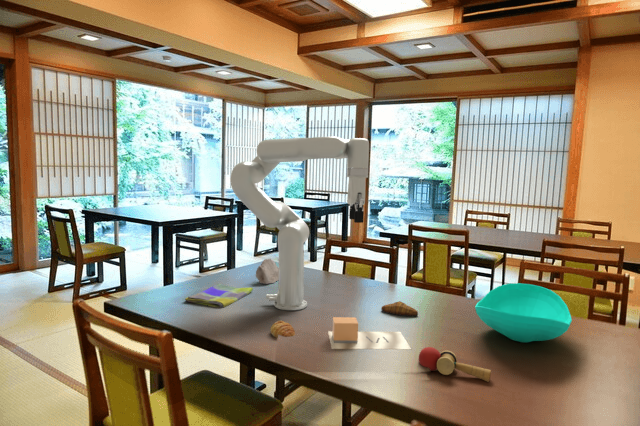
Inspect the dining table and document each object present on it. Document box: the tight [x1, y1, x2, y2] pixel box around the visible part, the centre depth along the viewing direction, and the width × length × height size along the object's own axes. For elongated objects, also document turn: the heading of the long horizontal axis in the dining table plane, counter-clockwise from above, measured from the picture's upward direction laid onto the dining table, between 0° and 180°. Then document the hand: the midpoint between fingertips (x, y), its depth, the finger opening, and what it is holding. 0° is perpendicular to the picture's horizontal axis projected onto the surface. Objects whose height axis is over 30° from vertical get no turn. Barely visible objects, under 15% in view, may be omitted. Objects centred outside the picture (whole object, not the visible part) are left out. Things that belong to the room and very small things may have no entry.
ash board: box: [327, 330, 412, 350], centre depth 130 cm, size 23×13×2 cm, turn 93°
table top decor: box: [474, 282, 573, 343], centre depth 138 cm, size 40×28×13 cm
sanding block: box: [332, 316, 359, 343], centre depth 129 cm, size 7×5×6 cm
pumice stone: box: [255, 258, 279, 285], centre depth 198 cm, size 15×8×10 cm, turn 147°
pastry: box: [270, 320, 296, 339], centre depth 134 cm, size 9×7×4 cm
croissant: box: [381, 301, 419, 317], centre depth 158 cm, size 14×7×5 cm, turn 69°
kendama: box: [418, 346, 492, 383], centre depth 113 cm, size 8×6×18 cm
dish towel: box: [184, 283, 253, 309], centre depth 172 cm, size 18×24×3 cm
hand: (356, 220), depth 156 cm, fingers open, 9 cm apart
